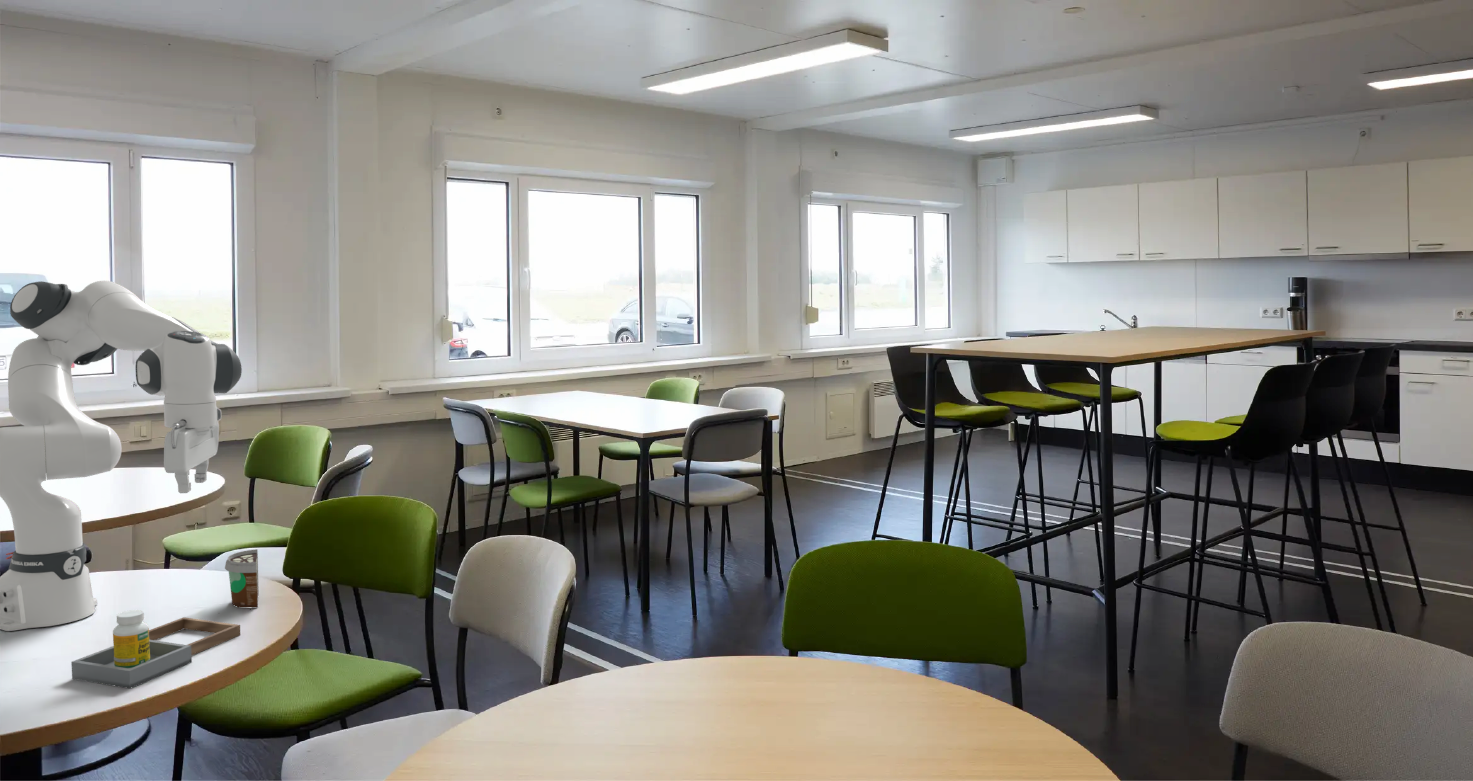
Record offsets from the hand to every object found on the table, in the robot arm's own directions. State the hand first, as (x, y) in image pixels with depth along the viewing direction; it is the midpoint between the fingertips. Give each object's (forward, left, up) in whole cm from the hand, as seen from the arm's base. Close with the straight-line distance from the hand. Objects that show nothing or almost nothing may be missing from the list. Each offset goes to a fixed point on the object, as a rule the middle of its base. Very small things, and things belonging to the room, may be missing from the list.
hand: (192, 487), depth 190 cm
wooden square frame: (+4, -7, -28) cm, 29 cm away
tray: (+7, -20, -28) cm, 35 cm away
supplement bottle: (+6, -20, -28) cm, 35 cm away
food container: (-4, +16, -29) cm, 33 cm away
